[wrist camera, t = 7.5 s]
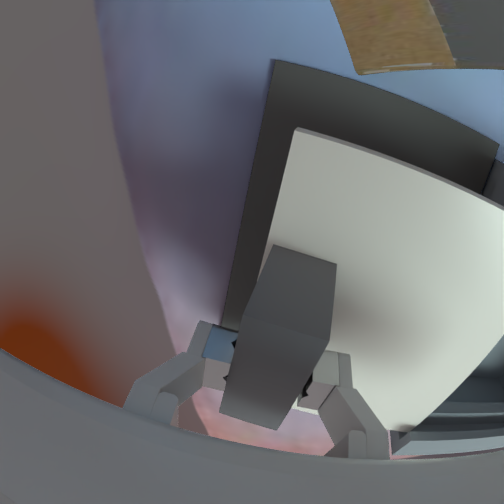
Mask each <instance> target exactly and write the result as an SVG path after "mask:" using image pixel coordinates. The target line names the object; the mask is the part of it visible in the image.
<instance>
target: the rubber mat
mask: <svg viewBox="0 0 504 504" xmlns="http://www.w3.org/2000/svg"><path fill="white" fill-rule="evenodd" d="M297 127H300V128H303V129H307V130H310V131H314V132H318V133H321V134H324V135H328V136H331V137H334V138H338V139H341V140H344V141H347V142H350V143H353V144H356V145H359V146H362V147H365V148H368V149H371V150H374V151H377V152H380V153H382V154H385V155H388V156H391V157H393V158H396V159H399V160H401V161H404V162H407V163H409V164H412V165H414V166H417V167H419V168H422V169H424V170H427V171H429V172H431V173H434V174H436V175H438V176H441V177H443V178H445V179H448V180H450V181H452V182H454V183H457V184H459V185H461V186H463V187H465V188H467V189H469V190H472V191H474V192H476V193H478V194H481V191H482V189H483V187H484V184H485V182H486V179H487V177H488V174H489V172H490V169H491V167H492V164H493V161H494V159H495V156H496V153H497V150H498V147H499V144H498V143H496V142H495V141H493V140H491V139H489V138H488V137H486V136H484V135H482V134H480V133H478V132H477V131H475V130H473V129H471V128H469V127H467V126H465V125H463V124H461V123H459V122H457V121H455V120H453V119H451V118H449V117H447V116H445V115H442V114H440V113H438V112H436V111H434V110H431V109H429V108H427V107H425V106H422V105H420V104H417V103H415V102H413V101H410V100H408V99H405V98H403V97H400V96H398V95H395V94H392V93H390V92H387V91H384V90H381V89H379V88H376V87H373V86H370V85H367V84H364V83H361V82H358V81H355V80H352V79H348V78H345V77H342V76H338V75H335V74H331V73H328V72H324V71H321V70H317V69H313V68H309V67H305V66H301V65H297V64H292V63H288V62H283V61H278V60H275V65H274V69H273V74H272V79H271V83H270V88H269V92H268V97H267V101H266V106H265V111H264V115H263V120H262V125H261V129H260V134H259V139H258V144H257V148H256V153H255V158H254V163H253V167H252V172H251V177H250V182H249V187H248V192H247V197H246V201H245V206H244V211H243V216H242V221H241V226H240V231H239V236H238V241H237V246H236V251H235V256H234V262H233V267H232V272H231V277H230V282H229V287H228V292H227V298H226V303H225V308H224V313H223V319H222V324H221V326H222V327H226V328H229V329H233V330H237V331H239V328H240V324H241V320H242V316H243V313H244V311H245V308H246V306H247V304H248V302H249V299H250V297H251V295H252V292H253V290H254V288H255V285H256V283H257V279H258V275H259V271H260V268H261V264H262V260H263V256H264V252H265V248H266V244H267V240H268V236H269V232H270V228H271V224H272V220H273V216H274V212H275V208H276V204H277V200H278V196H279V192H280V187H281V183H282V179H283V175H284V171H285V167H286V163H287V159H288V155H289V151H290V146H291V142H292V138H293V134H294V130H295V129H296V128H297Z"/></svg>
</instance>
